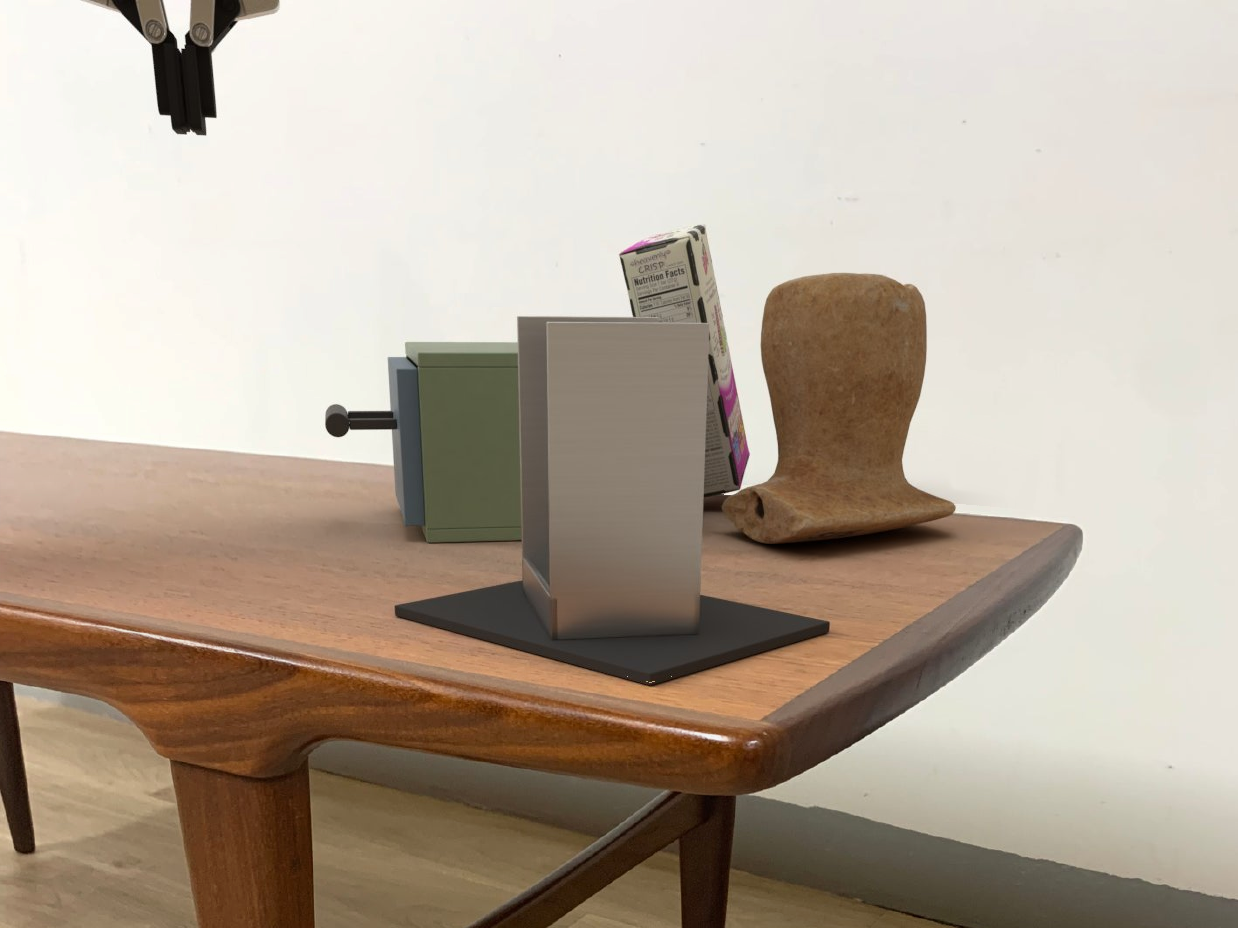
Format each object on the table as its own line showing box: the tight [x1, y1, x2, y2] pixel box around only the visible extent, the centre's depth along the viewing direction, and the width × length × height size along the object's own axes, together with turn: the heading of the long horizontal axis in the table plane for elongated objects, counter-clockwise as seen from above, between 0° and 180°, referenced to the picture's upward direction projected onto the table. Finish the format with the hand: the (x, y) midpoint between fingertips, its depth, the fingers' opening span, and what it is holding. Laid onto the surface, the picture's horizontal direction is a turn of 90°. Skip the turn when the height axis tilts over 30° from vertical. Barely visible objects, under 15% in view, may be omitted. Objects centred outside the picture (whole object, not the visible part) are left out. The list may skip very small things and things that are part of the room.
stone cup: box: [721, 272, 957, 545], centre depth 78 cm, size 15×12×15 cm
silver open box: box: [516, 315, 709, 640], centre depth 56 cm, size 6×9×12 cm
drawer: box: [324, 356, 425, 527], centre depth 82 cm, size 19×12×9 cm, turn 102°
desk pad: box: [394, 579, 831, 686], centre depth 59 cm, size 16×12×1 cm
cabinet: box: [404, 341, 522, 544], centre depth 82 cm, size 16×14×11 cm
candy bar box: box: [618, 223, 751, 499], centre depth 89 cm, size 11×5×16 cm, turn 172°
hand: (189, 131), depth 72 cm, fingers closed
